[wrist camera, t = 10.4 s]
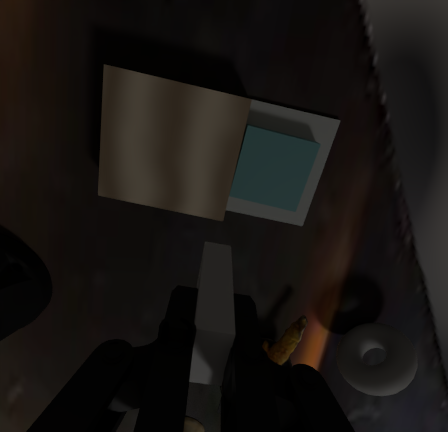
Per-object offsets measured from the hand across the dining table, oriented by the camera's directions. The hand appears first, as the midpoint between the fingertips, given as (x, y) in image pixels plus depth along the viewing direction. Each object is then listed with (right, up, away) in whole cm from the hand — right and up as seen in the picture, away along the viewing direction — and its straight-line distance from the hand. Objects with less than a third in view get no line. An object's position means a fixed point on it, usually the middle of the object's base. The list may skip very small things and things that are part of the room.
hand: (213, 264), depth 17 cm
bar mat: (+7, +9, +17) cm, 20 cm away
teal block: (+6, +9, +17) cm, 20 cm away
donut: (+21, -14, +26) cm, 36 cm away
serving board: (-5, +11, +16) cm, 20 cm away
